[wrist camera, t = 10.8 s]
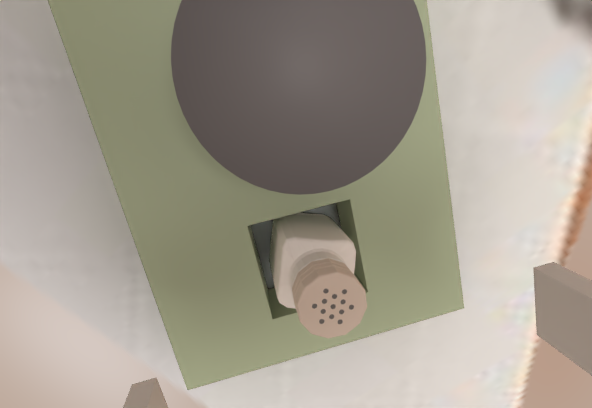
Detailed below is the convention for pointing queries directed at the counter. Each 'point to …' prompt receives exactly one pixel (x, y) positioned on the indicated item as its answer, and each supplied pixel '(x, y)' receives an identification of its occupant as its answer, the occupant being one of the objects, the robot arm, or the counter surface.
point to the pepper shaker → (316, 273)
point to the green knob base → (268, 158)
